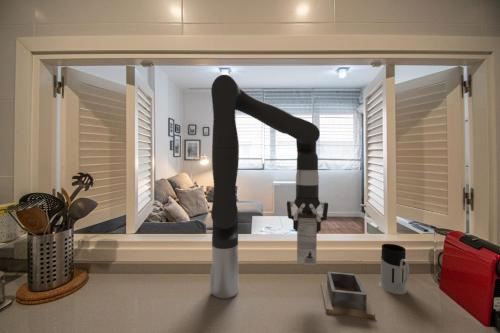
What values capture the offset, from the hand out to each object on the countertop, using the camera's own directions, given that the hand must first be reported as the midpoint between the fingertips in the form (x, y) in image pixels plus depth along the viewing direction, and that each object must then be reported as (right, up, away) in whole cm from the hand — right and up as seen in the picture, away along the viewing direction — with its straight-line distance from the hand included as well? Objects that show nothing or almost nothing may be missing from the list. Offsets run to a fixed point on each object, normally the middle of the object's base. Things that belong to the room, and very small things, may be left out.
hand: (306, 231), depth 81 cm
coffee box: (0, -10, 0) cm, 10 cm away
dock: (+12, -23, -2) cm, 26 cm away
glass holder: (+33, -23, +3) cm, 40 cm away
